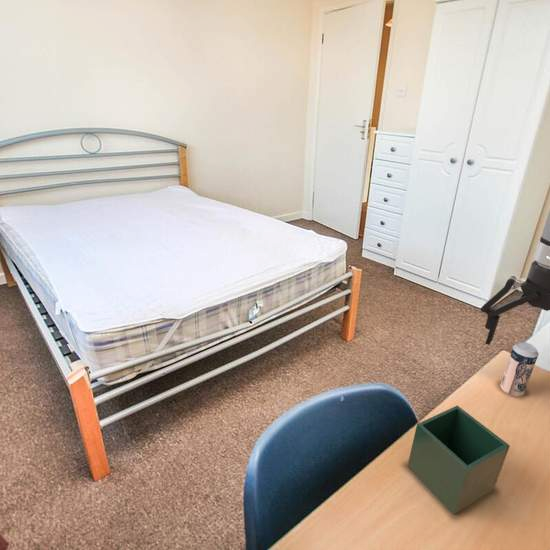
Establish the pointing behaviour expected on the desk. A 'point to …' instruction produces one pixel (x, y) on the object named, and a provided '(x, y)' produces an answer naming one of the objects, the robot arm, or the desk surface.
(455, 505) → the green open-top box
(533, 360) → the beer can
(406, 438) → the desk surface
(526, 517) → the desk surface
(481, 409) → the desk surface
